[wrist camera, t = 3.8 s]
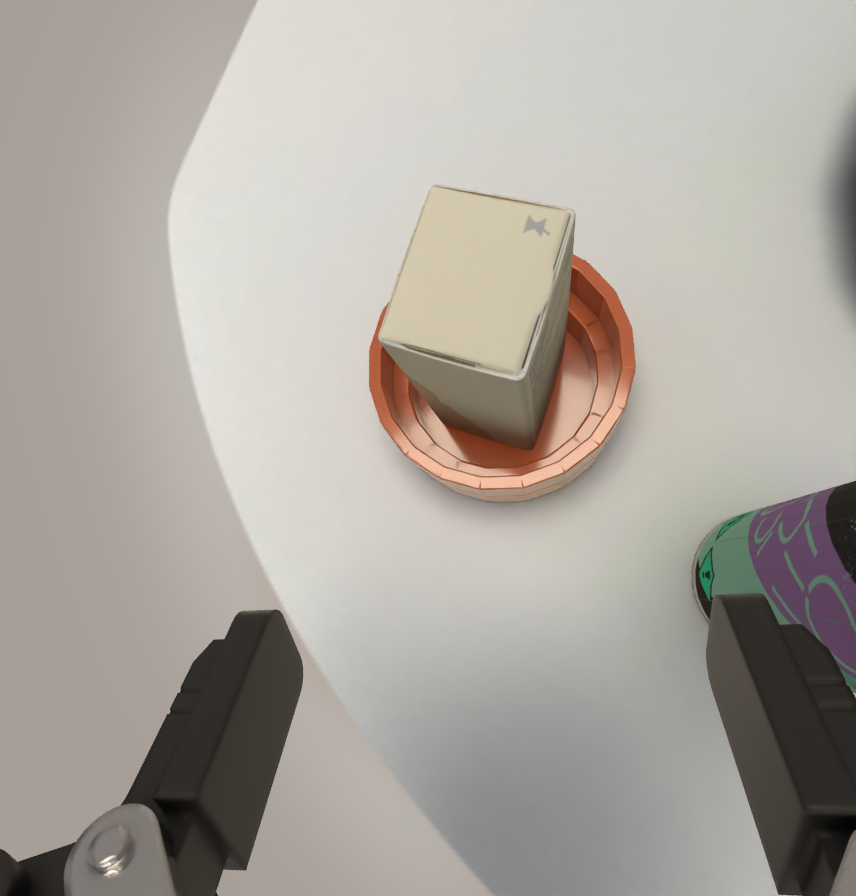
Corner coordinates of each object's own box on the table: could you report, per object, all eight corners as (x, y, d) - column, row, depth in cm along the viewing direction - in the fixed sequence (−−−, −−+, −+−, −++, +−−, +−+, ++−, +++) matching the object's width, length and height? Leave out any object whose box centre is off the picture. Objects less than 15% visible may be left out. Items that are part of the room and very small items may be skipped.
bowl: (368, 468, 28) (335, 449, 24) (431, 269, 29) (412, 217, 25) (586, 531, 26) (595, 522, 21) (644, 312, 27) (663, 262, 23)
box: (475, 323, 28) (432, 169, 17) (568, 346, 27) (583, 198, 16) (439, 430, 27) (371, 340, 17) (532, 459, 26) (524, 381, 16)
